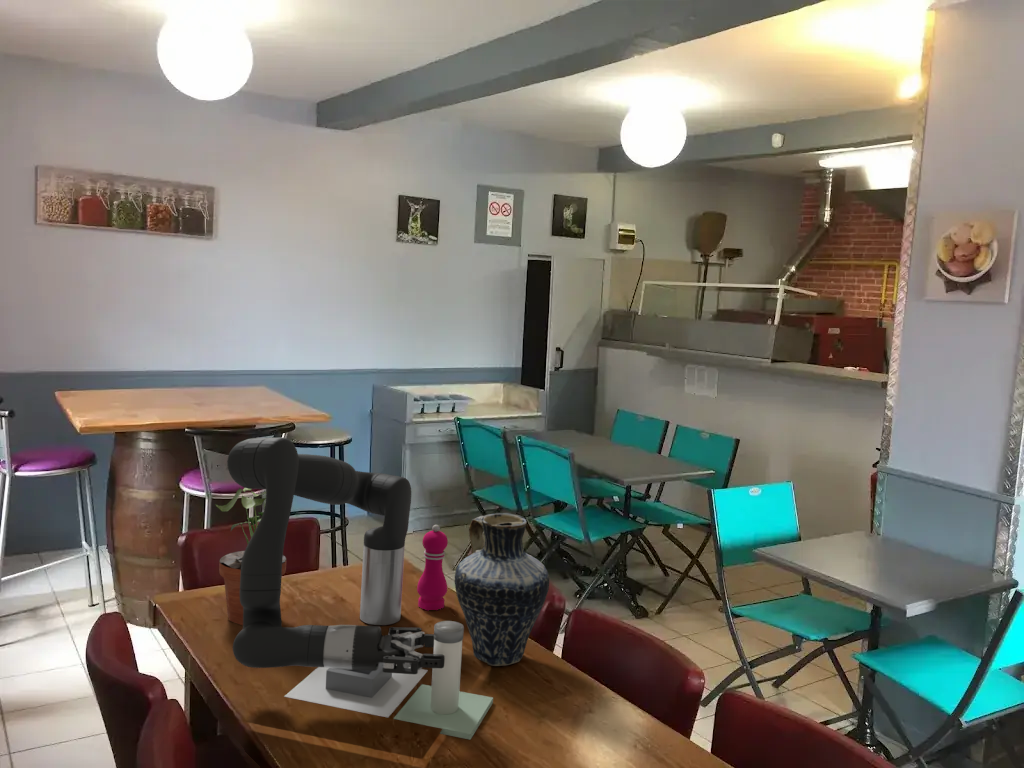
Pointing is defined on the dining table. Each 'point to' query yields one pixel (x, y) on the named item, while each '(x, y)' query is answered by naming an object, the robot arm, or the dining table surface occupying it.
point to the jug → (500, 588)
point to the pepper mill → (433, 571)
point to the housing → (357, 689)
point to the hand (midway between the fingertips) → (444, 651)
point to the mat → (451, 724)
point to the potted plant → (238, 559)
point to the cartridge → (447, 667)
